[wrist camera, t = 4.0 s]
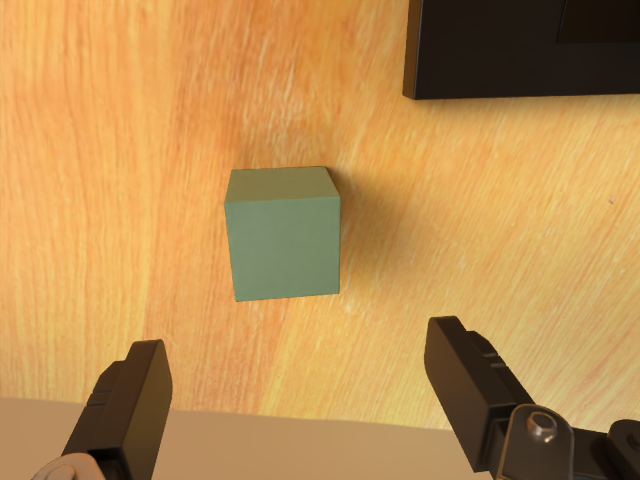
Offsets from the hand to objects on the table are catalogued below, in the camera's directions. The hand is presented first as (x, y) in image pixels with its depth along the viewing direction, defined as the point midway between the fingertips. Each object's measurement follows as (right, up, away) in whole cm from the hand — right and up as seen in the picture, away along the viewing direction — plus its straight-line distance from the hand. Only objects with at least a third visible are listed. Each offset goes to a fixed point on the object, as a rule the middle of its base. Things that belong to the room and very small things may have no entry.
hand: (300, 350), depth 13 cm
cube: (-2, +5, +11) cm, 12 cm away
